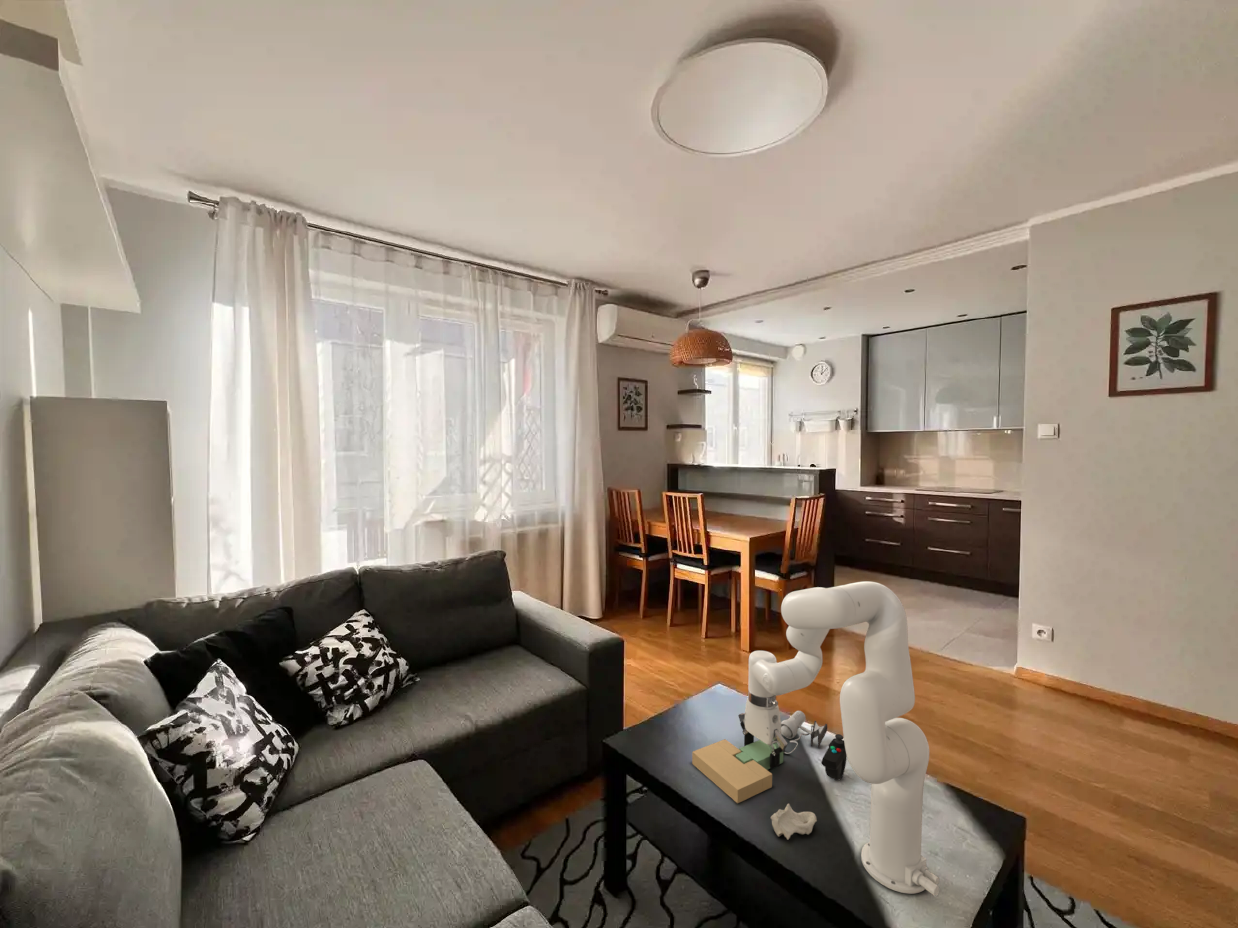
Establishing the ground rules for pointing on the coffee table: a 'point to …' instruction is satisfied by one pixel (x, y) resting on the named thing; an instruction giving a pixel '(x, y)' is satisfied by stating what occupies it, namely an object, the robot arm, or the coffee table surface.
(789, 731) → the clip-on lamp
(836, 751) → the controller
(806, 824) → the coral
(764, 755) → the green pad
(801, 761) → the coffee table surface
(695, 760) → the sand pad
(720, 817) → the coffee table surface
